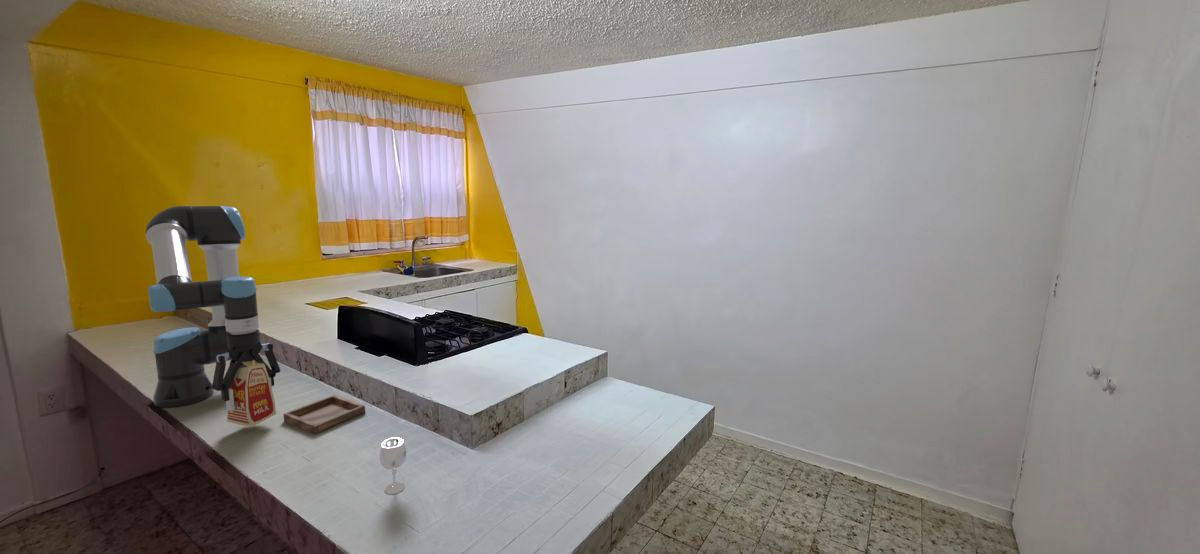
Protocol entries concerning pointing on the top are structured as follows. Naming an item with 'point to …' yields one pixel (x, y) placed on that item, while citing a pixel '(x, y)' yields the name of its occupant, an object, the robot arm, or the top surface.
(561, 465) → the top surface
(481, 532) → the top surface
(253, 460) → the top surface
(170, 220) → the robot arm
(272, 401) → the milk carton
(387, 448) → the wineglass
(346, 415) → the tray
